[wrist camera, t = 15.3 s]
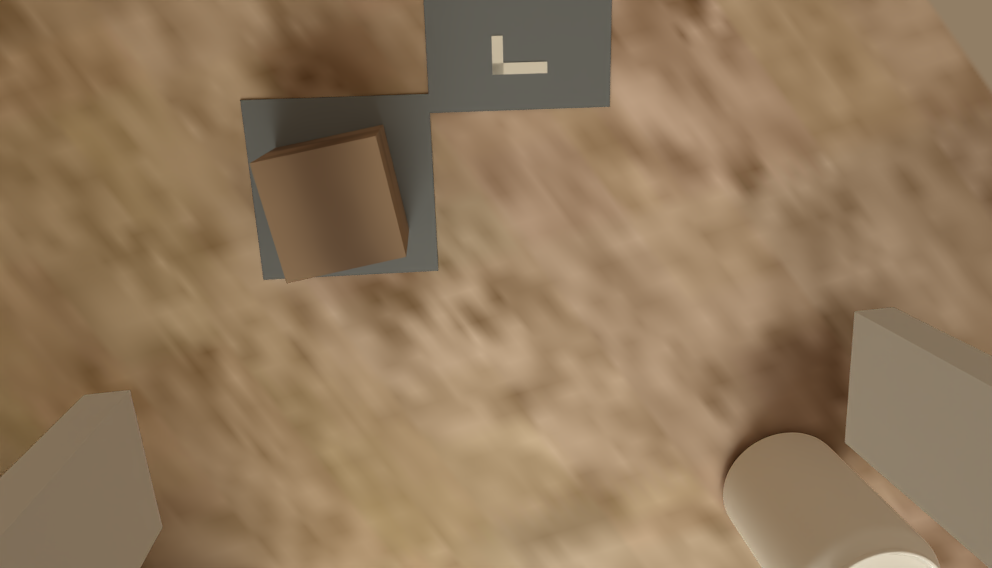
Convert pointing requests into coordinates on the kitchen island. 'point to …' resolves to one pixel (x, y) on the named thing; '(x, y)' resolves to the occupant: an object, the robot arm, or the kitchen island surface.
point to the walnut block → (332, 203)
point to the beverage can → (815, 510)
